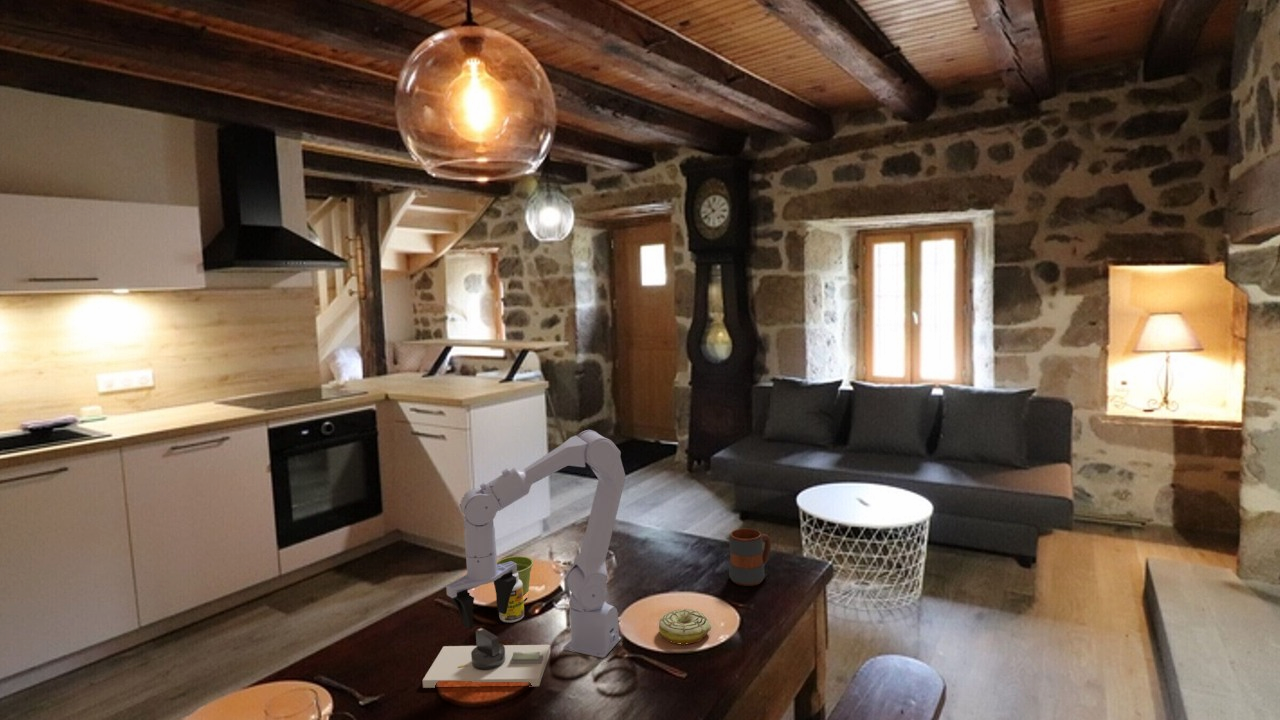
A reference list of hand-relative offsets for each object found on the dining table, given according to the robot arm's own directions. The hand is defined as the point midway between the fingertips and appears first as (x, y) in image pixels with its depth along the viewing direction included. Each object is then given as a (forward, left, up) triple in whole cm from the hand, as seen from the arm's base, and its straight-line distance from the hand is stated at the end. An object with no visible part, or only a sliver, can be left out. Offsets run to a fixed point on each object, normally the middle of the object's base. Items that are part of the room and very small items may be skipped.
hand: (485, 619), depth 133 cm
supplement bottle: (+8, -19, -10) cm, 23 cm away
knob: (0, 0, -9) cm, 9 cm away
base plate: (0, 0, -10) cm, 10 cm away
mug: (-37, -57, -10) cm, 69 cm away
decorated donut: (-31, -26, -11) cm, 42 cm away
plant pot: (+13, -27, -10) cm, 32 cm away
